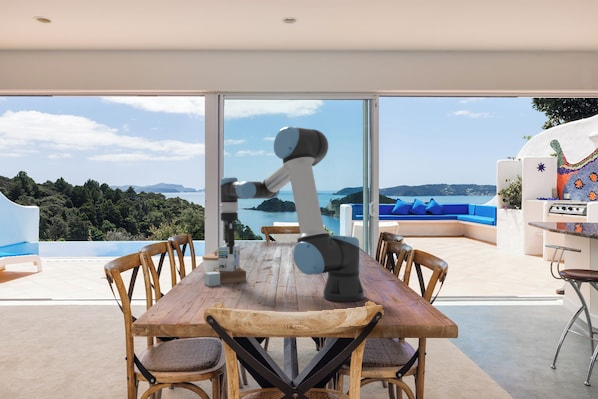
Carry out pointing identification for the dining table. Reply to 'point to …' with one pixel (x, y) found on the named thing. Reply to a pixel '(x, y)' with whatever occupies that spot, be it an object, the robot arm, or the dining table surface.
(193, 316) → the dining table surface
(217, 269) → the walnut block
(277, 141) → the robot arm
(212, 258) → the lidded bowl
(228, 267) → the light bulb box
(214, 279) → the slate cube
